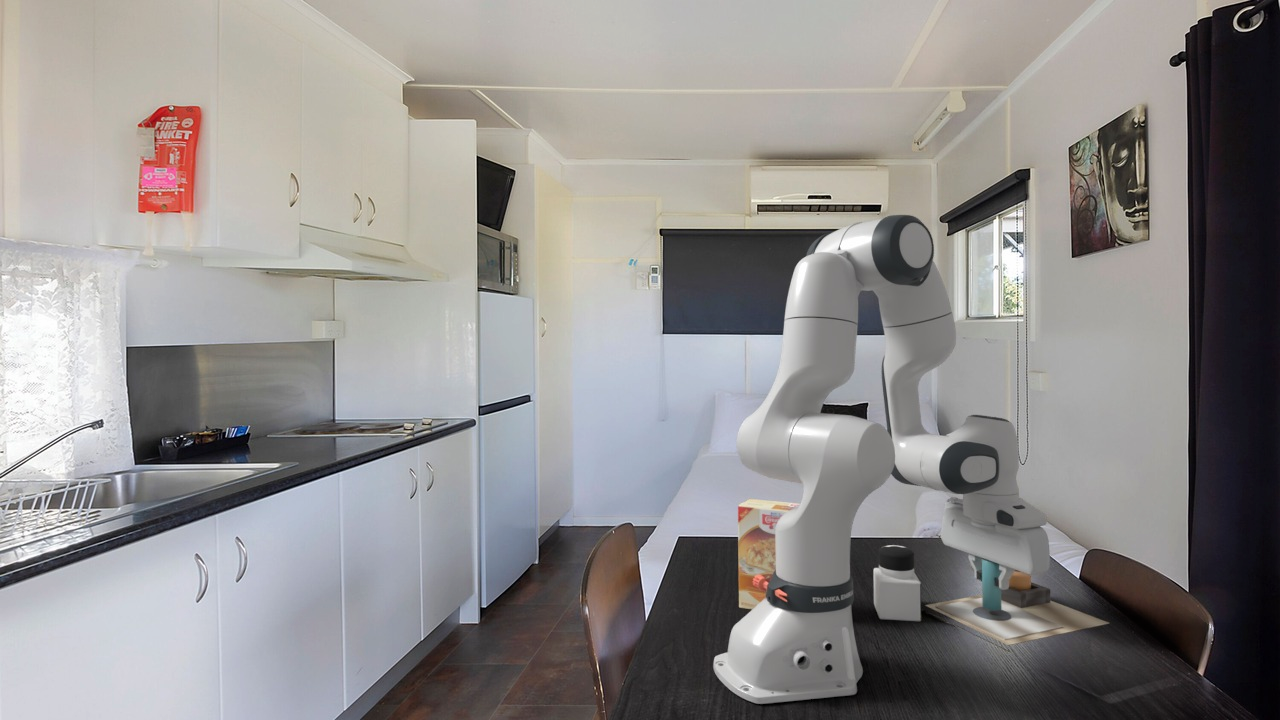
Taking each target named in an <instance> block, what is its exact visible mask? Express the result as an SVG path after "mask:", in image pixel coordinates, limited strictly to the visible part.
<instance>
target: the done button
mask: <svg viewBox="0 0 1280 720" xmlns="http://www.w3.org/2000/svg"><path fill="white" fill-rule="evenodd" d="M1031 582H1032V575H1029V574H1026V573H1023V572H1017V571H1015V572H1014V573H1013V575H1012V576H1011V578H1010V579H1009V587H1010V588H1013V589H1015V590H1018V591H1025V590H1031Z"/></svg>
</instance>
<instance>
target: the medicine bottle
mask: <svg viewBox="0 0 1280 720" xmlns="http://www.w3.org/2000/svg"><path fill="white" fill-rule="evenodd" d="M873 605H874V608H875V610H876V612H877V616H878V618H879V619H880V620H888V621H903V622H904V621H905V622H921V621H922V582H921V580H919V578H918V575H916V573H915V553H914V552H913V550H912V549H910V548H908V547H906V546H903V545H895V544H892V545H884V546H882V547H880V548H879V549H878V567H874V568H873Z"/></svg>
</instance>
